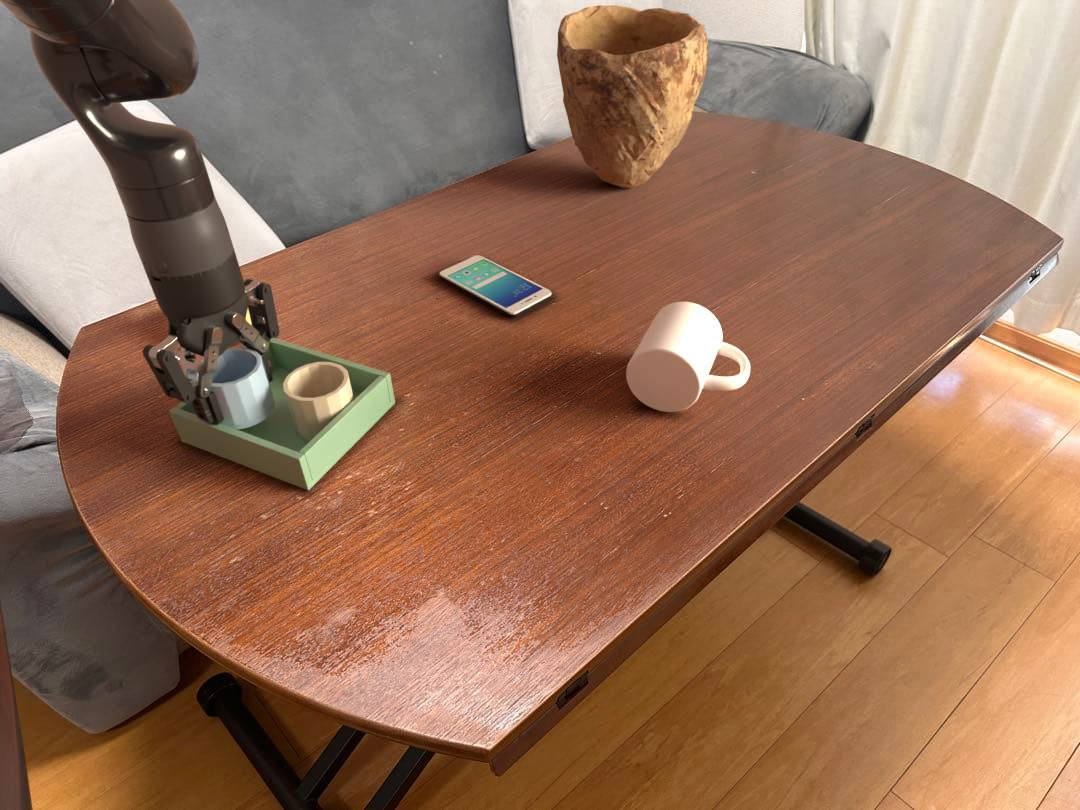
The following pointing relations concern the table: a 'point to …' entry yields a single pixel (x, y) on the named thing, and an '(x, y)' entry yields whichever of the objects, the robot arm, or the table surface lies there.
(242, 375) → the gray cup
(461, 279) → the smartphone
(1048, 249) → the table surface
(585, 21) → the rough brown clay pot
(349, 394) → the cream cup
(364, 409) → the tub
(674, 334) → the mug
